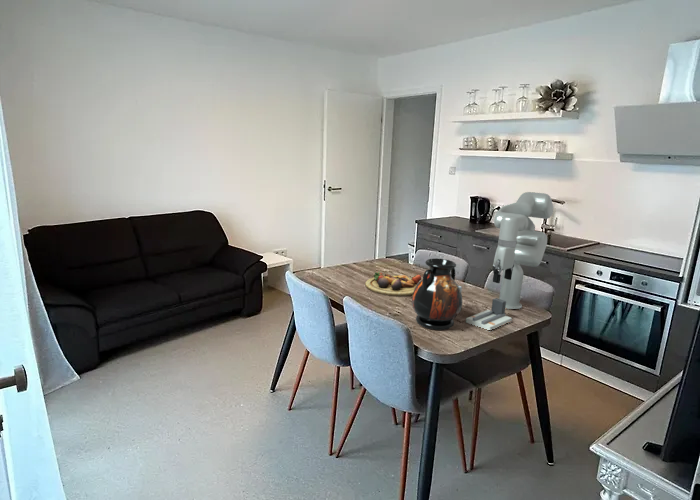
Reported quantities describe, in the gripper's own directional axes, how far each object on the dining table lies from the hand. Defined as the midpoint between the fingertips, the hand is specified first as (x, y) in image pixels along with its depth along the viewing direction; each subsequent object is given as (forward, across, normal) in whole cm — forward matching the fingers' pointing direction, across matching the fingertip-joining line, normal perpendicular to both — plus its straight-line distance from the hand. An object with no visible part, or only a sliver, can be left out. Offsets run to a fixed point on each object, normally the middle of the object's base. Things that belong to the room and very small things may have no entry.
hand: (501, 280), depth 193 cm
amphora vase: (+19, +29, -13) cm, 37 cm away
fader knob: (+16, 0, 0) cm, 16 cm away
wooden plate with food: (+19, +7, -58) cm, 62 cm away
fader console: (+18, +7, 0) cm, 20 cm away
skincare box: (+18, +9, -18) cm, 27 cm away
